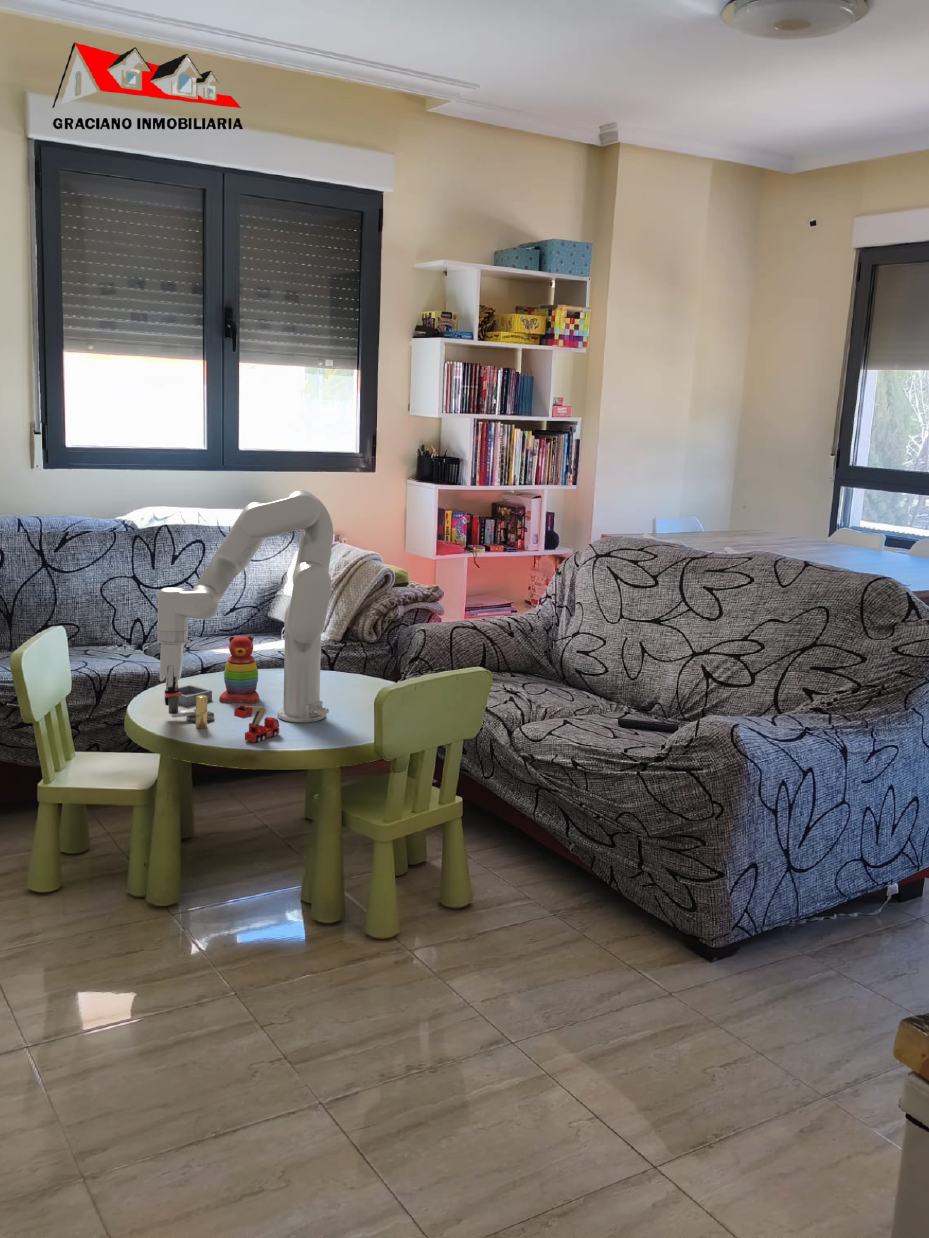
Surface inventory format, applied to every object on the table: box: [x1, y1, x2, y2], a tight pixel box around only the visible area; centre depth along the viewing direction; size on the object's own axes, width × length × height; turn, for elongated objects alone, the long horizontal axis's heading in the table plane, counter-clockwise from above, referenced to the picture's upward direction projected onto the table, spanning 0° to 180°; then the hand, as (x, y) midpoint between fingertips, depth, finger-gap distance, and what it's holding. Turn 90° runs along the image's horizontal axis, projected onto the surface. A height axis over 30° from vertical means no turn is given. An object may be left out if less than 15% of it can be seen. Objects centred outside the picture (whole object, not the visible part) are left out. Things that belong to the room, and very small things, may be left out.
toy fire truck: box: [233, 704, 280, 743], centre depth 269 cm, size 3×14×10 cm, turn 149°
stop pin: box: [195, 695, 208, 730], centre depth 277 cm, size 3×3×8 cm
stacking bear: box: [218, 635, 260, 705], centre depth 304 cm, size 11×10×18 cm
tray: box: [178, 684, 213, 707], centre depth 301 cm, size 9×9×3 cm
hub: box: [185, 710, 215, 724], centre depth 284 cm, size 7×7×1 cm
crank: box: [164, 692, 196, 718], centre depth 282 cm, size 11×4×6 cm, turn 119°
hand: (171, 704), depth 284 cm, fingers closed
